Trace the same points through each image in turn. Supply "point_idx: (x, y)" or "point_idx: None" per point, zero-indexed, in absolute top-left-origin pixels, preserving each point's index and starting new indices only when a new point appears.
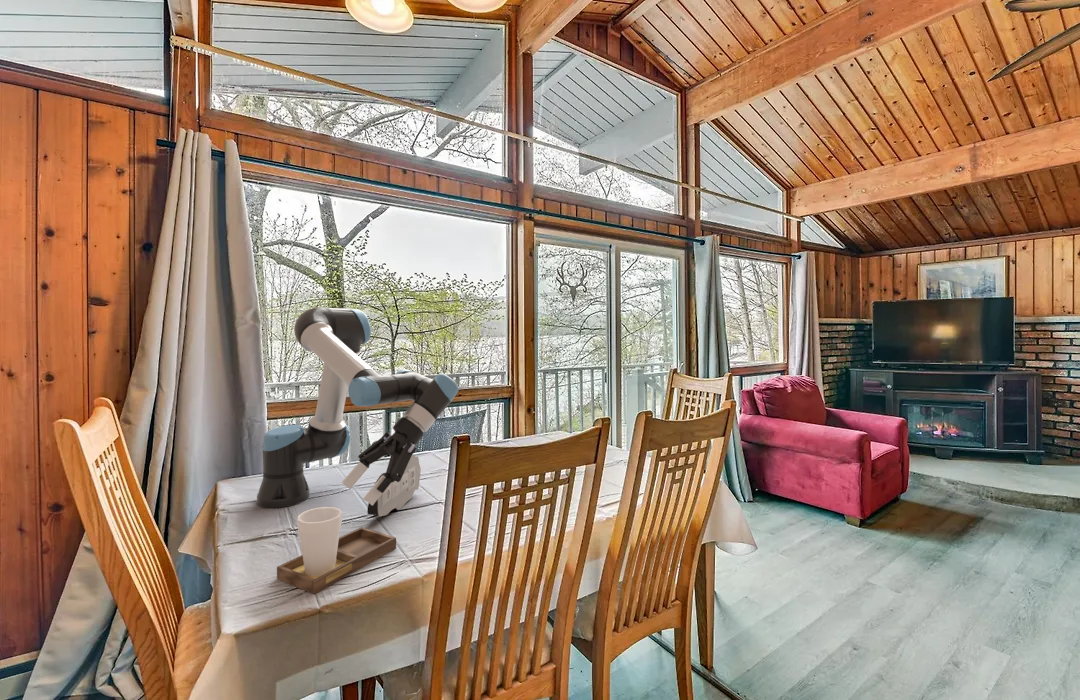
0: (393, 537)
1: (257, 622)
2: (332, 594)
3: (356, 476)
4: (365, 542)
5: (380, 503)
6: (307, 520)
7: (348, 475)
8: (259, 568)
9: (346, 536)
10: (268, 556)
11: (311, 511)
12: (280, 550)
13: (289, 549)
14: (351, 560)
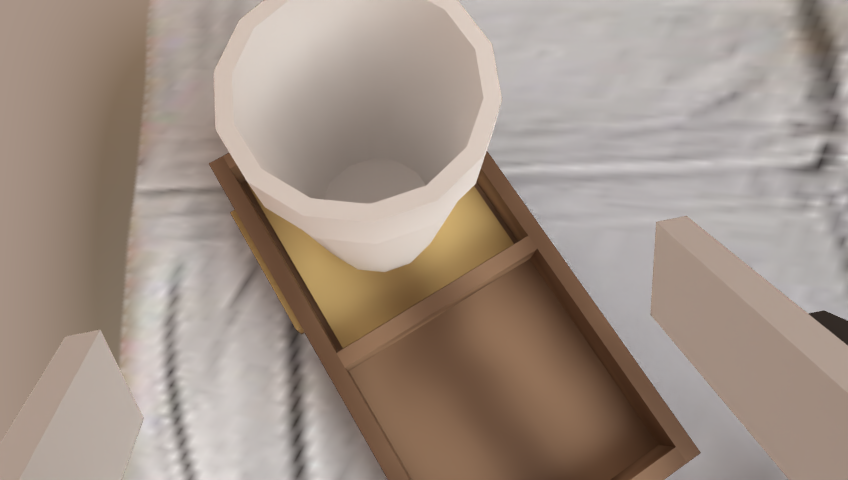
0: None
1: (156, 21)
2: (186, 242)
3: (728, 365)
4: (569, 451)
5: None
6: (447, 59)
7: (733, 267)
8: (533, 33)
9: (609, 354)
10: (625, 62)
11: (472, 54)
12: (665, 103)
13: (661, 133)
14: (314, 330)
